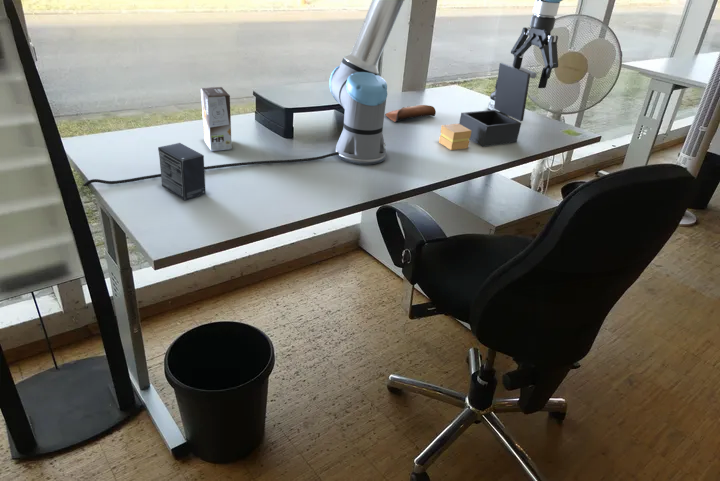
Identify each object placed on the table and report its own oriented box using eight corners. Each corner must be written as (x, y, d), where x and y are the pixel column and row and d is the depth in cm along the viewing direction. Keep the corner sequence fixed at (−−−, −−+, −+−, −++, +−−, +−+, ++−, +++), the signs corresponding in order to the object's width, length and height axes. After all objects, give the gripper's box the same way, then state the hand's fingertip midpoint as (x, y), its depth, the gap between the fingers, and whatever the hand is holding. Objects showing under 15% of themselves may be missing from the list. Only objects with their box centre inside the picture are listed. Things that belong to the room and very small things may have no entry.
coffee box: (232, 149, 162) (230, 95, 153) (210, 151, 159) (207, 96, 151) (224, 138, 169) (222, 86, 160) (203, 140, 166) (199, 87, 157)
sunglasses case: (421, 109, 210) (429, 97, 205) (429, 123, 208) (438, 111, 202) (383, 114, 201) (390, 101, 195) (391, 129, 198) (399, 116, 193)
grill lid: (528, 74, 176) (545, 70, 179) (499, 63, 186) (516, 59, 189) (520, 121, 185) (537, 117, 188) (493, 108, 195) (510, 104, 198)
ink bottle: (483, 107, 221) (490, 77, 215) (504, 108, 223) (510, 78, 217) (492, 115, 213) (499, 84, 207) (513, 116, 215) (521, 85, 209)
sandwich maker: (482, 146, 183) (487, 126, 179) (457, 132, 193) (461, 112, 189) (516, 142, 189) (521, 122, 186) (490, 128, 200) (494, 109, 196)
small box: (207, 194, 136) (205, 154, 131) (184, 201, 132) (181, 161, 127) (183, 179, 142) (180, 141, 137) (160, 186, 138) (156, 146, 132)
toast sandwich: (451, 150, 177) (454, 132, 174) (438, 142, 182) (441, 125, 179) (468, 148, 180) (471, 130, 177) (455, 140, 185) (458, 123, 182)
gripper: (581, 23, 169) (562, 92, 180) (526, 8, 187) (511, 71, 198) (564, 23, 166) (545, 93, 177) (509, 8, 184) (495, 72, 195)
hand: (527, 82), depth 187 cm, fingers open, 13 cm apart
